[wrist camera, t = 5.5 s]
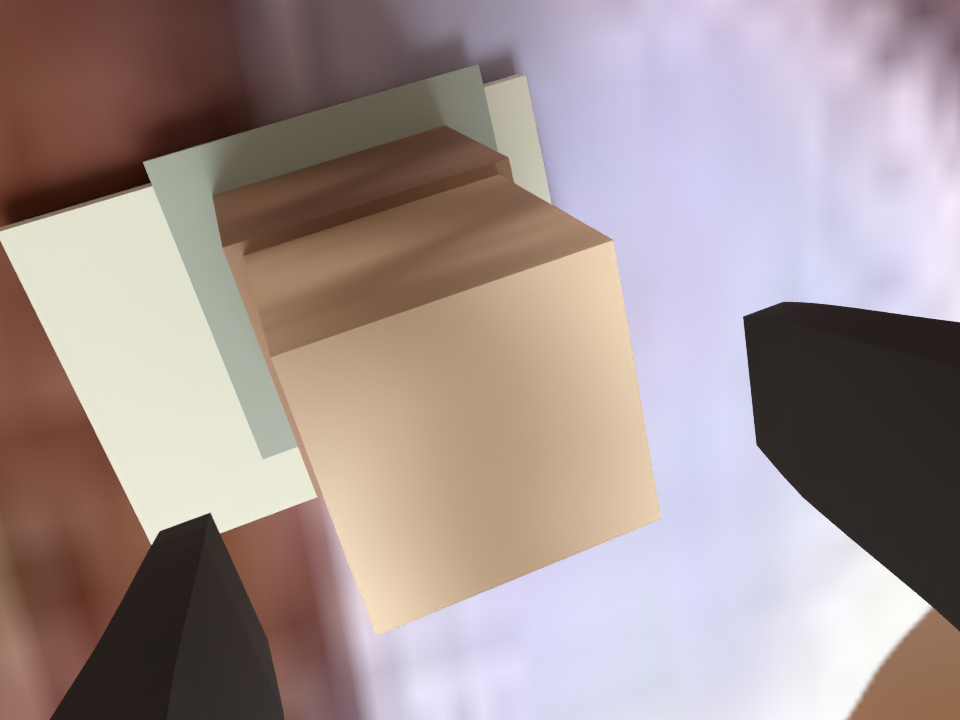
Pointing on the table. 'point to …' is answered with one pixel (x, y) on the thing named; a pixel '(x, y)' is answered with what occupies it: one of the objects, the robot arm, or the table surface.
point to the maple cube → (459, 391)
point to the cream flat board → (215, 298)
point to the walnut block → (342, 206)
